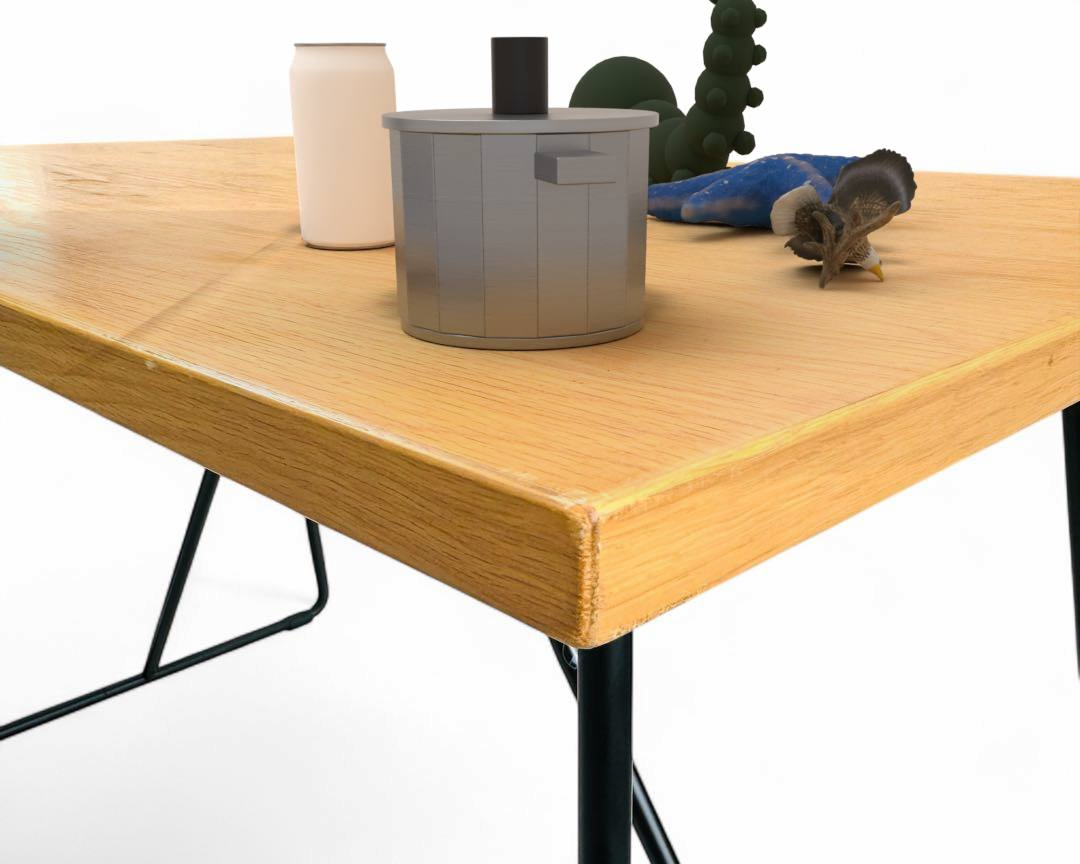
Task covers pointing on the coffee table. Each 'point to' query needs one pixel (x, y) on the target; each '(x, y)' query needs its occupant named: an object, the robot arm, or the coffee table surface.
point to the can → (343, 144)
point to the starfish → (745, 189)
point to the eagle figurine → (846, 213)
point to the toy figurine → (719, 97)
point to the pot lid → (519, 102)
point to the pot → (520, 237)
